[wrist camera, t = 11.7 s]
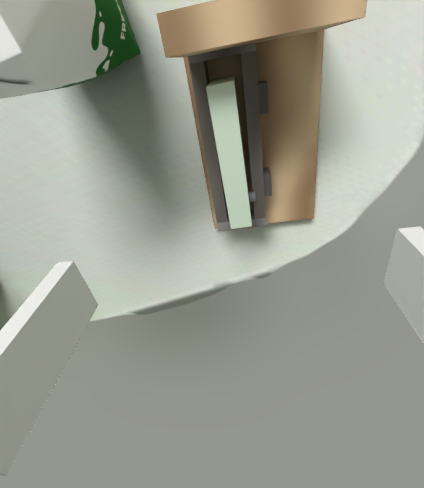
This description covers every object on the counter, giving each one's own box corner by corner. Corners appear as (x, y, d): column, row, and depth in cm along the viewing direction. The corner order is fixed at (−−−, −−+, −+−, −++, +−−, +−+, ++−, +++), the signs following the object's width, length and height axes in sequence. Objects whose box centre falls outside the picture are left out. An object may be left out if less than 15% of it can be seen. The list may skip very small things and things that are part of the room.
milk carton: (15, -21, 23) (-538, -215, 6) (108, -72, 21) (-358, -543, 4) (74, 92, 27) (-161, 146, 11) (155, 60, 25) (11, 67, 9)
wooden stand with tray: (215, 223, 35) (208, 283, 26) (180, 31, 24) (147, 15, 15) (311, 213, 33) (340, 273, 24) (321, 0, 22) (382, -39, 13)
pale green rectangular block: (231, 197, 32) (231, 229, 26) (212, 79, 25) (205, 86, 19) (254, 194, 31) (259, 225, 25) (241, 73, 25) (243, 78, 19)
